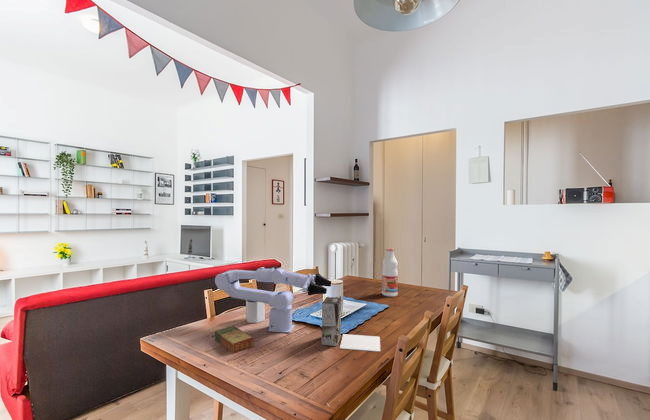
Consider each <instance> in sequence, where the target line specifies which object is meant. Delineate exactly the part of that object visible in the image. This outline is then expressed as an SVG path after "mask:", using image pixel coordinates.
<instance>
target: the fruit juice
mask: <svg viewBox="0 0 650 420" xmlns="http://www.w3.org/2000/svg"><path fill="white" fill-rule="evenodd" d="M385 252H386V253H385V256H384V258H383V260H382V264H381V265H382V271H381V294H382V296H384V297H397V296H398V292H399V291H398V290H399V289H398V288H399V287H398V285H399V271H398V266H399V263H398V260H397V259H396V256H395V253H394V252H395V248H393V247H392V248H391V247H387V248H386V249H385Z"/></svg>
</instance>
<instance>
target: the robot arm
mask: <svg viewBox="0 0 650 420" xmlns="http://www.w3.org/2000/svg"><path fill="white" fill-rule="evenodd" d="M242 279H243V280H250V279H251V280H252V279H253V280H254V279H255V280H256V282H258V283H259V282H260V283H261V282H262V283H274V285H279V284H284V285H285V286H286V285H287V286H291V287H295V288H299V289H302V293H306V294H307V296H312V295H313V296H314V295H326V294H327V291H328V288H326V287H329V288H330V287H331V286H332V280H329V279H327V278H325V277H324V276H323V275H321V274H320V273H318V272H317V273H316V274H315V273H313V274H311V273H308V275H307V274H302V273H298V272H295V271H290V270H289V271H288V270H286V269H285V268H283V267H277V268H276V269H275V267H271V268H265V266H263V267H262V266H261V267H260V268H257V269H256V270H246V269H245V270H244V269H230V270H227V271H225V272H222V273H219V274H216V276H215V278H214V283H215V285H216V287H217V289H218V290H220V291H223V292H224V293H225V294H227V295H228V296H229V297H231V298H233V299H239V300H245V301H246V300H250V301H255V302H261V303H265V304H268V305H269V306H270V307H271V308H270V310H269V314H268V318H269V319H268V332H276V333H288V334H290V333H291V332H292V330H293V329H294V328H295V324H293V306H292V303H293V302H294V300H295V299H294V298H295V295H294V294H293V292H292V291H290V290H287V289H286V290H283V291H282V290H281V291H280V290H279V291H278V290H276V291H269V290H264V289H258V288H257V289H256V288H252V287H251V288H250V287H244V286H241V284H240V281H239V280H242Z"/></svg>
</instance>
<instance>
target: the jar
mask: <svg viewBox="0 0 650 420" xmlns="http://www.w3.org/2000/svg"><path fill="white" fill-rule="evenodd" d="M265 304H266V303H261V302H255V301H250V300H245V320H246V323H249V324H251V323H252V324H253V323H254V324H258V323H261V322H264V321H265V317H266V316H265V312H266V311H265V309H266V308H265V307H266V306H265Z"/></svg>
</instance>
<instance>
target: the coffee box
mask: <svg viewBox="0 0 650 420" xmlns="http://www.w3.org/2000/svg"><path fill="white" fill-rule="evenodd" d="M321 304H322V305H321V345H324V346H332V347H333V346H334V347H337V346H338V344H339V342H340V340H341V333H342V332H341V331H342V330H341V327H342V325H341V324H342V322H341V320H342V318H341V317H342V312H341V311H342V298H341V297H330V296H329V297H328V296H327V297H325V298H324V300H323V301H322V302H321Z"/></svg>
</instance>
